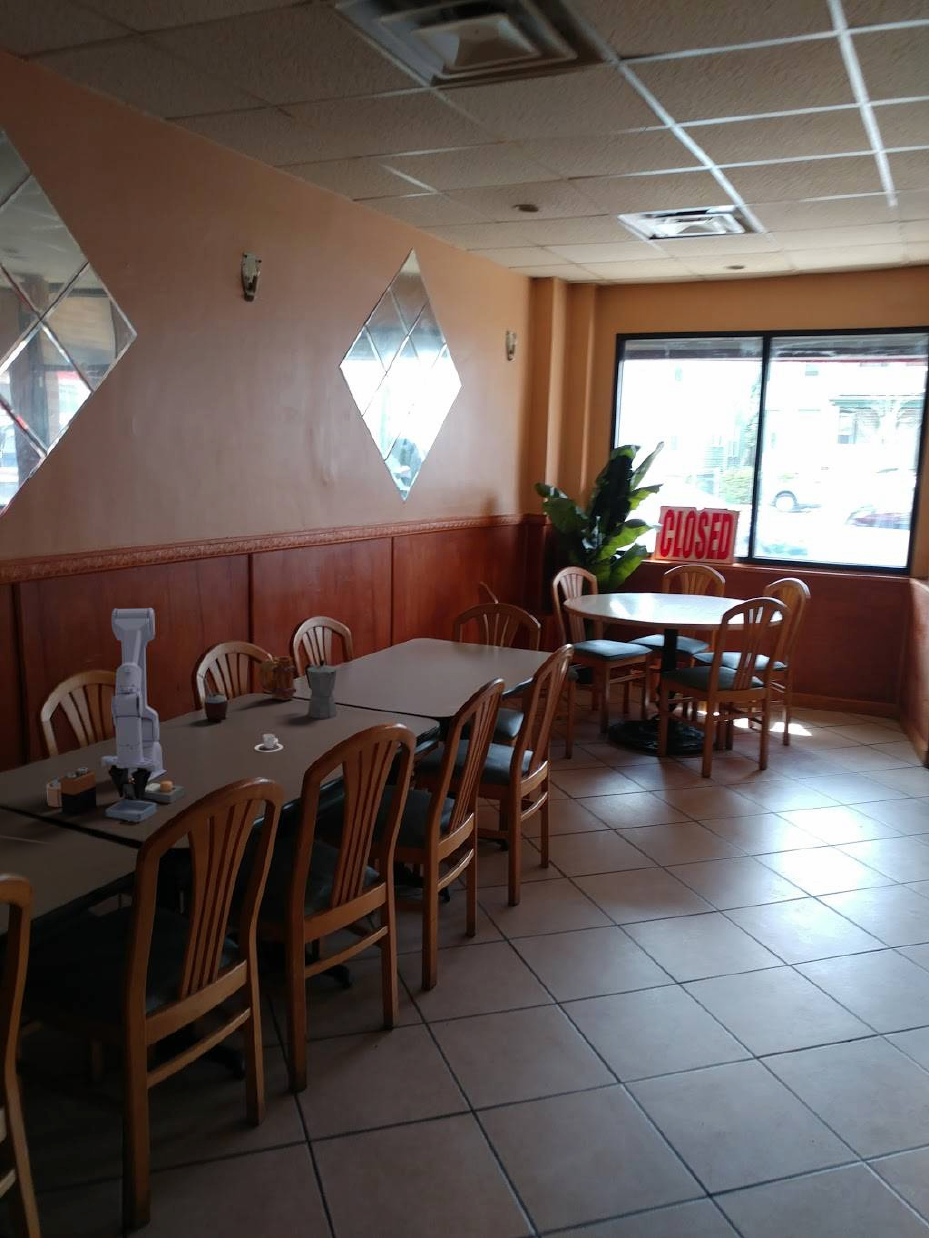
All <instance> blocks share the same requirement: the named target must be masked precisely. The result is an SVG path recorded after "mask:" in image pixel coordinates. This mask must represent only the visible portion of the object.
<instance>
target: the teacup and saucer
mask: <svg viewBox="0 0 929 1238" xmlns="http://www.w3.org/2000/svg"><path fill="white" fill-rule="evenodd" d="M262 738H263V743H260V744H258V745H255V746H254V750H255V751H257V752H261V753H273V752H279V751H281V750H282V749H283V748H284V746H283V744H280V743H279V739H278V738H277V737H275V734H273V733H265V734H263V737H262ZM262 746H264V748H265V749H266V750H261V749H259V748H260V747H262ZM275 746H276V747H277V746H278V748H277V749H274V747H275ZM270 749H274V750H270Z"/></svg>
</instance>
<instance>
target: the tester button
mask: <svg viewBox="0 0 929 1238" xmlns="http://www.w3.org/2000/svg"><path fill="white" fill-rule="evenodd" d="M159 784H160V792H167V793H169V792H171V791H172V785H173V782H172V781H170V780H164V781H161V782H159Z"/></svg>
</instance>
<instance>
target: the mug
mask: <svg viewBox="0 0 929 1238" xmlns="http://www.w3.org/2000/svg"><path fill="white" fill-rule="evenodd" d="M296 670H297V668H296V667H295V665H294V664H293V657H291V656H288V655H285V656H283V655H282V656H275V657H274V658H273V659H269V658H265V659H264V660H262V662H261V664H260V666H259V671H258V679H259V683H260V686H261V687H262V688H263V690H264V691H266V692H269V693H271V697H272V699H274V700H278V701H289V700H292V699H293V697H294V694H295V693H296V692H297V688H296V686H294V672H296ZM270 673H272V680H270V675H269V674H270Z"/></svg>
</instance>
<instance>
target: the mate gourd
mask: <svg viewBox="0 0 929 1238" xmlns="http://www.w3.org/2000/svg"><path fill="white" fill-rule="evenodd" d="M196 674H197V675H198V676H199V677H200V678H202V680H203V682H204V684H205V685H206V687H207V690H208V693H209V694H208V695H206V697H205V699H204V705H203V707H204V711H205V716H206V718H207V720H206V723H210V722H217V723H219V724H221V723H222V720H226V719H227V716H226V715H227V713H228V712H227V711H228V707H229V706H228V699H227V696H226V694H223V693H217V692H215V693H212V691H211V688H210V685H209V683H208V680H207V678H206V677H204V676H203V675H201V674H200V673H198V672H197V673H196Z"/></svg>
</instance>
